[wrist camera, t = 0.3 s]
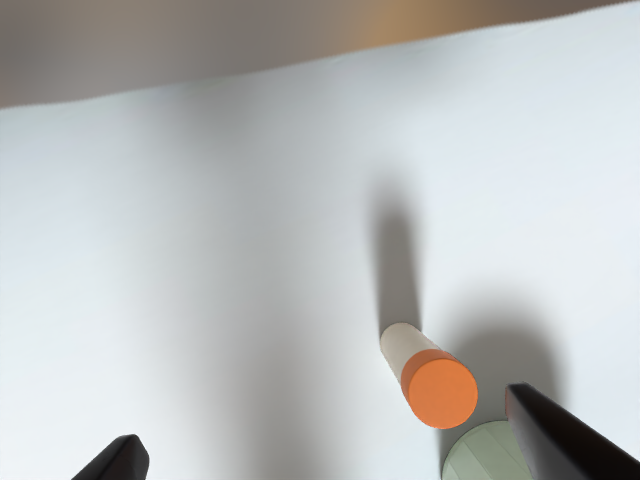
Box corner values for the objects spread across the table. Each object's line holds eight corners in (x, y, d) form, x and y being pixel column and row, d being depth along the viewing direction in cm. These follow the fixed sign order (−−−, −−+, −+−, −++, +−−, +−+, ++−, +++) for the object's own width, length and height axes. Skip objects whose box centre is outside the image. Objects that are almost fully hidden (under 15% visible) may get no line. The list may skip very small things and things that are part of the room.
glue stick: (432, 351, 23) (491, 406, 15) (393, 375, 23) (431, 443, 15) (408, 312, 23) (454, 345, 15) (369, 335, 23) (394, 381, 15)
